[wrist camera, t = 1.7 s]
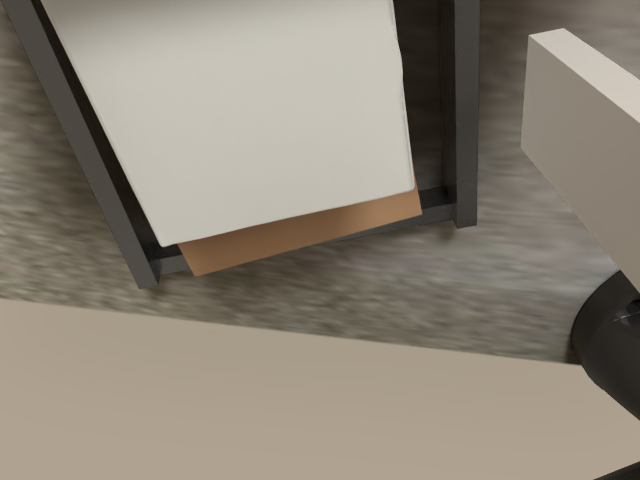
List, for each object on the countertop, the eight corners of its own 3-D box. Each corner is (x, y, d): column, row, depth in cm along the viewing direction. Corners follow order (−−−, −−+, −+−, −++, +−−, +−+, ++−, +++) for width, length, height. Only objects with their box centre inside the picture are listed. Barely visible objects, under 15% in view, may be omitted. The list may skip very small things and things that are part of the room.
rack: (461, 198, 37) (598, 441, 23) (146, 258, 37) (83, 537, 23) (459, -270, 23) (813, -414, 9) (-46, -169, 23) (-519, -145, 9)
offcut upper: (409, 185, 33) (422, 214, 31) (198, 244, 34) (195, 277, 32) (387, 73, 29) (400, 96, 26) (147, 144, 30) (138, 172, 27)
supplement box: (122, -109, 25) (8, -40, 13) (319, -157, 25) (387, -133, 13) (190, 84, 31) (154, 256, 19) (352, 46, 30) (422, 196, 18)
